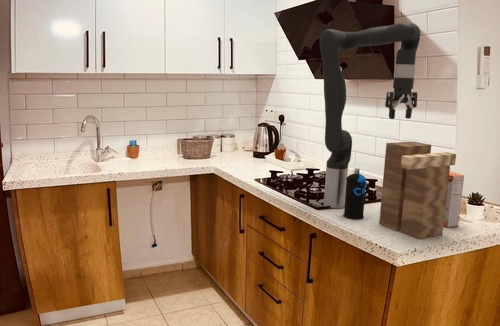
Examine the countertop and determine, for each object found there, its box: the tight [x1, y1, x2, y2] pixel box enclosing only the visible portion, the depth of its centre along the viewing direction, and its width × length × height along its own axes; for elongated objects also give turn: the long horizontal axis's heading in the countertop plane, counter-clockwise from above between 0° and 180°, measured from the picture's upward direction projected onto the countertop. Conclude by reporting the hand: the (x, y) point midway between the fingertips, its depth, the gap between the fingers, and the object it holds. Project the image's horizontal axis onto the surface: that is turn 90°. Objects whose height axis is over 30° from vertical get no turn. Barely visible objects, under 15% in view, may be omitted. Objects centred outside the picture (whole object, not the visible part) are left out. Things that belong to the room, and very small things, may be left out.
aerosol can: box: [343, 167, 368, 220], centre depth 192 cm, size 8×8×20 cm
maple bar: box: [401, 151, 457, 169], centre depth 168 cm, size 23×4×4 cm, turn 119°
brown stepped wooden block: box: [378, 141, 451, 240], centre depth 177 cm, size 14×19×32 cm
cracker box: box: [443, 170, 465, 228], centre depth 188 cm, size 14×6×21 cm, turn 21°
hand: (399, 118), depth 186 cm, fingers open, 8 cm apart
